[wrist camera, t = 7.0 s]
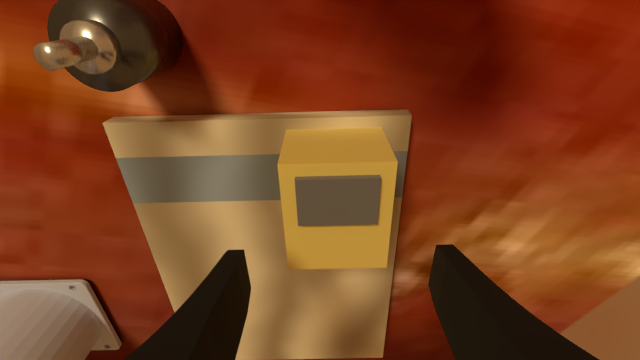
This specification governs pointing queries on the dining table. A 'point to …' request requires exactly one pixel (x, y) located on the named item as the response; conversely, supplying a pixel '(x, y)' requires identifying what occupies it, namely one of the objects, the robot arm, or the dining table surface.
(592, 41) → the dining table surface
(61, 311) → the robot arm
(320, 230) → the block
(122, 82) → the soap dispenser
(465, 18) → the dining table surface
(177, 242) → the plywood panel
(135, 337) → the dining table surface
